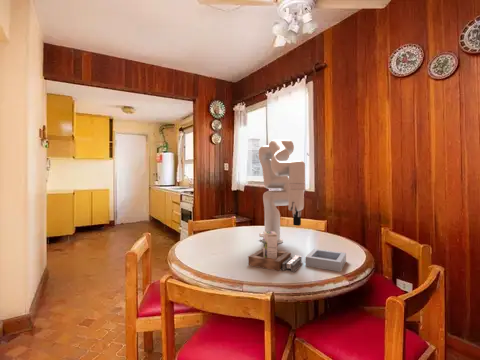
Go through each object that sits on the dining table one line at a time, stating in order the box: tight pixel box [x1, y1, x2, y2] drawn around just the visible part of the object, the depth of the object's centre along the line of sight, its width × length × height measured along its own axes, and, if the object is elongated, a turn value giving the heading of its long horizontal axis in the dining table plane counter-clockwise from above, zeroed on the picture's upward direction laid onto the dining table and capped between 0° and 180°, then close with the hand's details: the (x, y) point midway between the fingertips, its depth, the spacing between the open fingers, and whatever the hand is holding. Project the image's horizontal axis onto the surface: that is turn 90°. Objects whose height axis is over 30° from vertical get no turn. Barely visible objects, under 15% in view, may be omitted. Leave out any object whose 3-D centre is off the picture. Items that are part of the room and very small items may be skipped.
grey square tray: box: [305, 248, 347, 272], centre depth 120 cm, size 15×15×4 cm
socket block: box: [247, 248, 302, 273], centre depth 120 cm, size 21×15×4 cm
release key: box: [287, 254, 303, 270], centre depth 118 cm, size 3×13×3 cm, turn 149°
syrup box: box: [262, 230, 278, 259], centre depth 122 cm, size 6×6×14 cm
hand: (297, 225), depth 124 cm, fingers closed
